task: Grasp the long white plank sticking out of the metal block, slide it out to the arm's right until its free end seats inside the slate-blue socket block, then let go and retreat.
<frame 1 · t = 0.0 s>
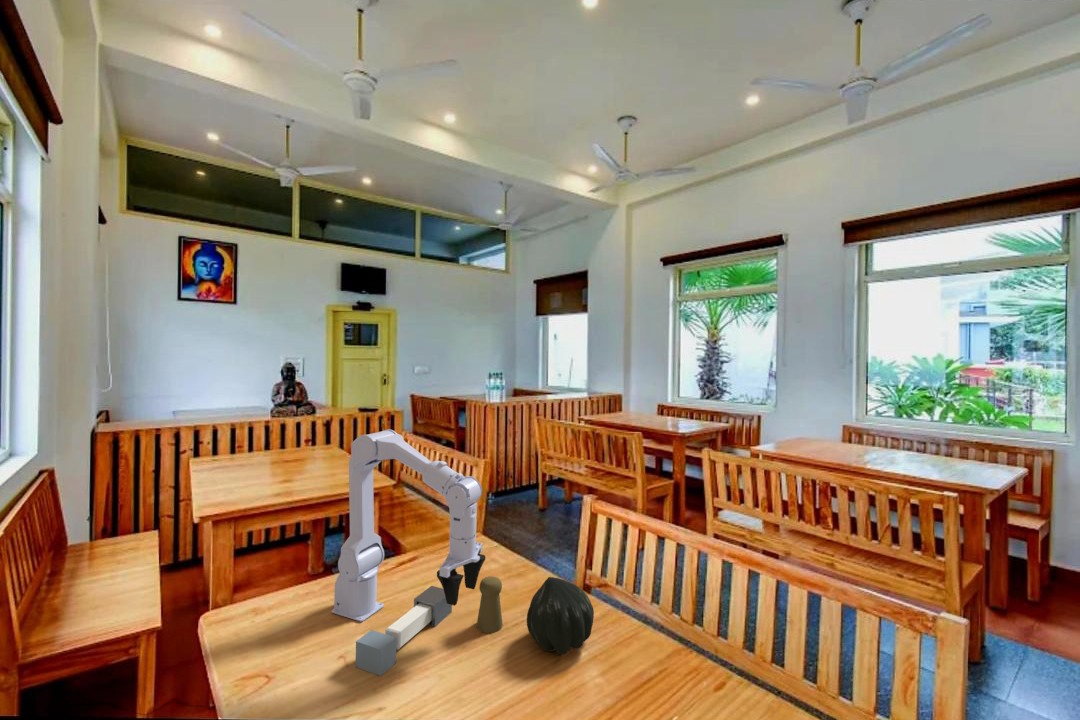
hand: (461, 595, 109), 10 cm above the table, fingers open, 7 cm apart
metal block: (432, 616, 119), on the table
socket: (375, 664, 100), on the table
long white plank: (419, 617, 113), point 3 cm above the table, slide at 0.0 cm
squash: (559, 643, 110), on the table
olive game pawn: (489, 626, 116), on the table
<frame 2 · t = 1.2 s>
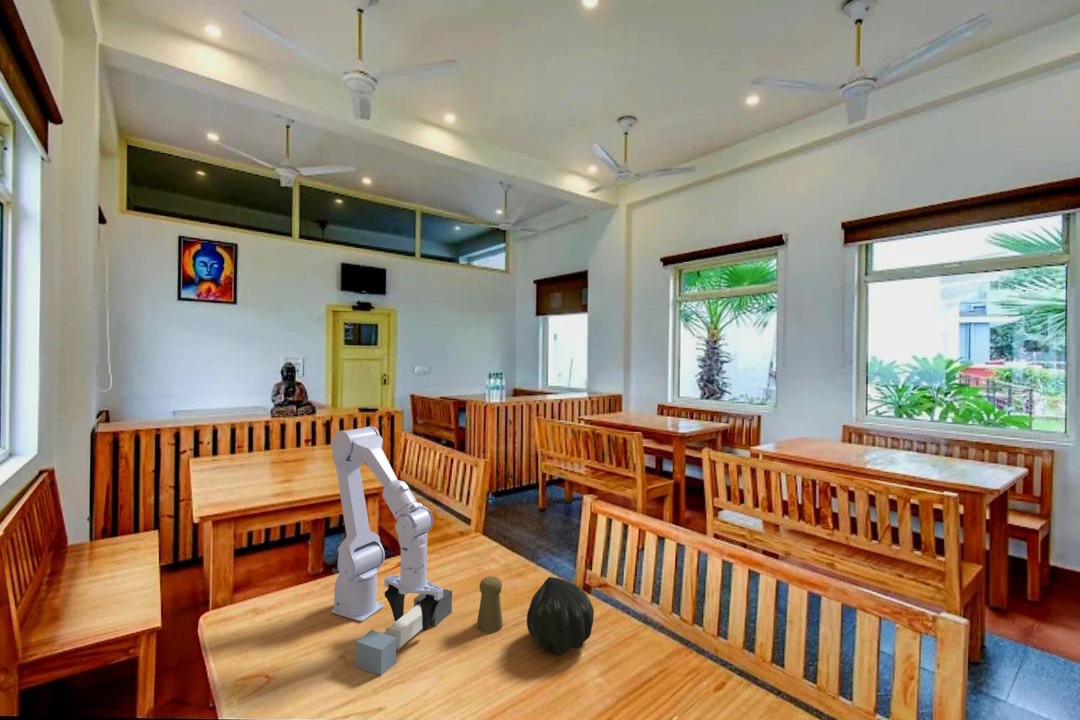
hand: (412, 623, 111), 2 cm above the table, fingers open, 7 cm apart
nothing on the table moved.
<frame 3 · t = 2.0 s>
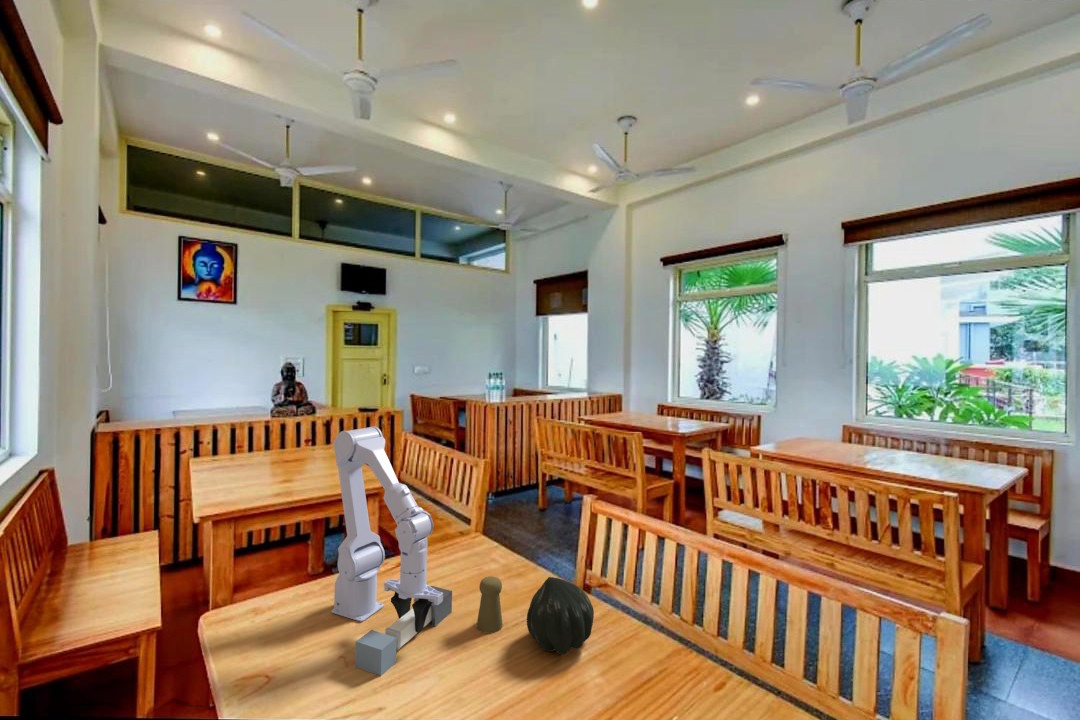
hand: (412, 627, 111), 1 cm above the table, fingers closed on long white plank, 3 cm apart
long white plank: (419, 617, 113), point 3 cm above the table, slide at 0.0 cm, touching gripper
everything else where it was.
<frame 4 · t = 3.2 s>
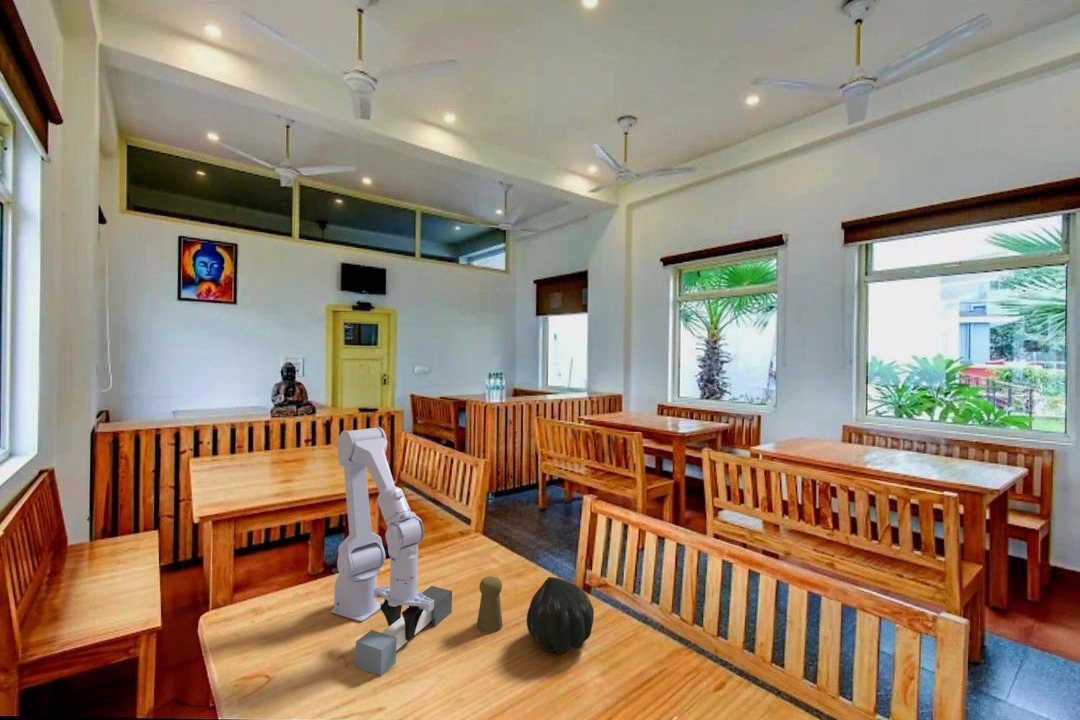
hand: (402, 635, 108), 1 cm above the table, fingers closed on long white plank, 3 cm apart
long white plank: (410, 624, 110), point 3 cm above the table, slide at 3.3 cm, touching gripper
everything else where it was.
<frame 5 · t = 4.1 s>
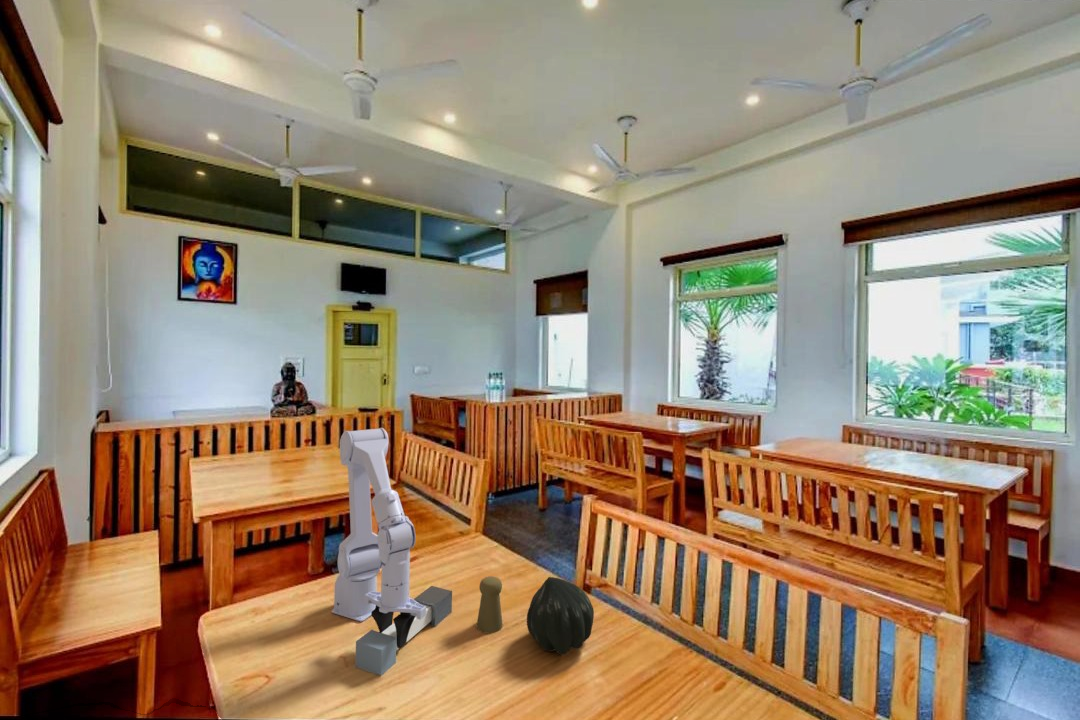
hand: (394, 642, 105), 1 cm above the table, fingers closed on long white plank, 3 cm apart
long white plank: (402, 630, 108), point 3 cm above the table, slide at 6.0 cm, touching gripper
everything else where it was.
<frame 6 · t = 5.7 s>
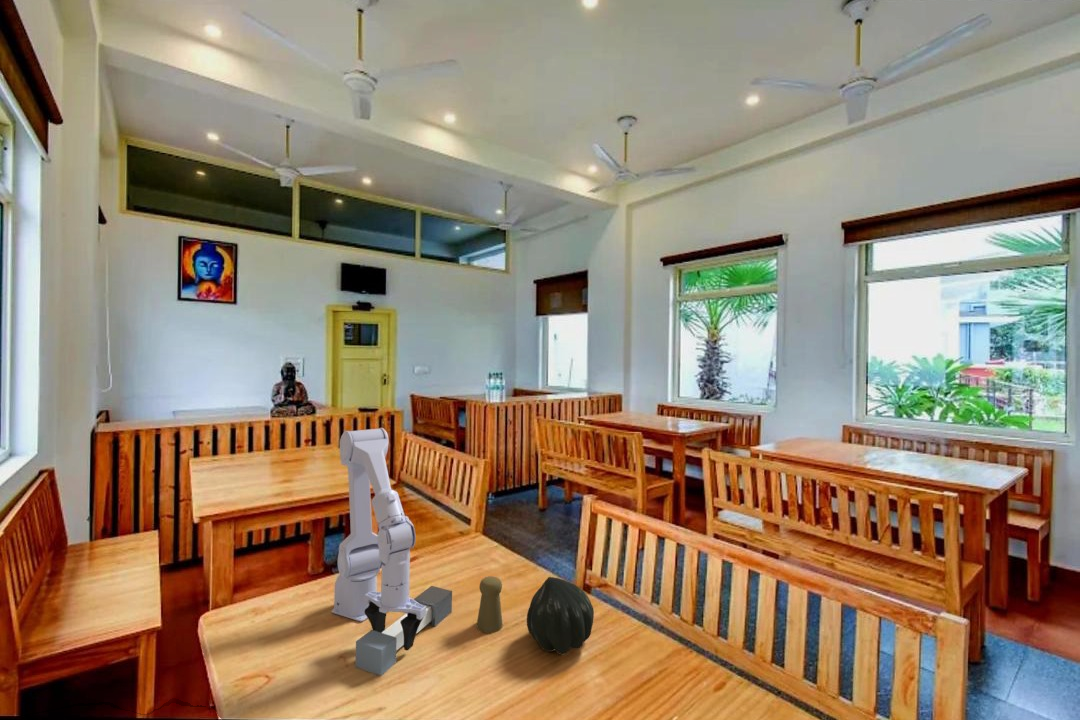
hand: (394, 642, 105), 1 cm above the table, fingers open, 7 cm apart
long white plank: (402, 630, 108), point 3 cm above the table, slide at 6.0 cm
everything else where it was.
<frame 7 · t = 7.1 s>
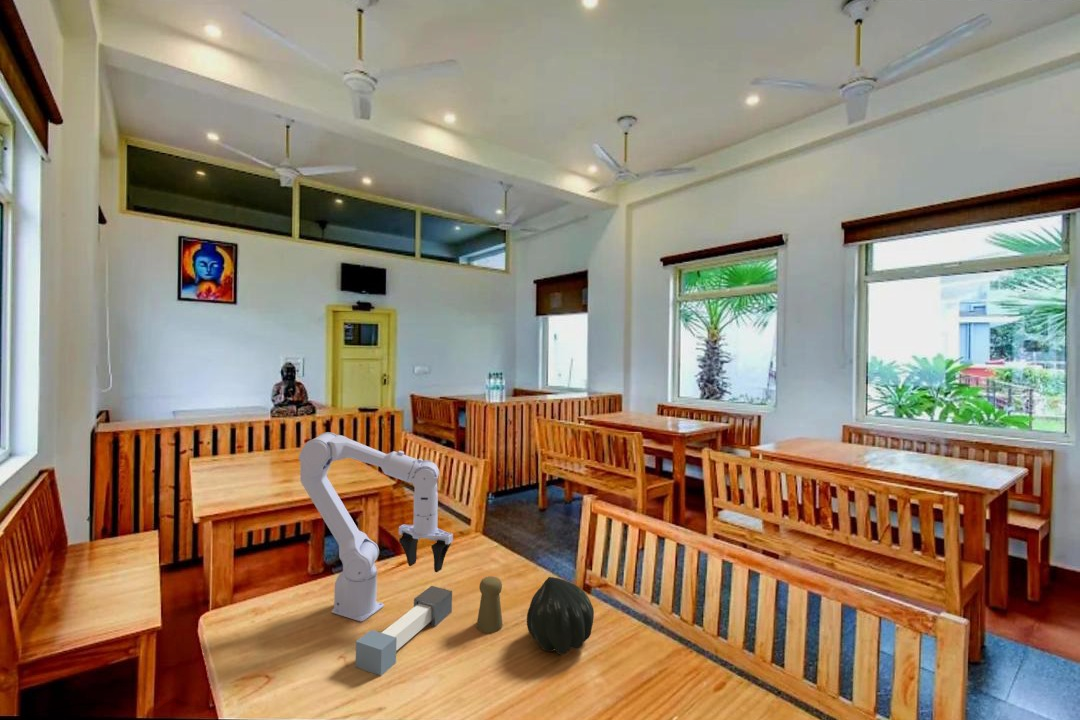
hand: (425, 567, 121), 10 cm above the table, fingers open, 7 cm apart
nothing on the table moved.
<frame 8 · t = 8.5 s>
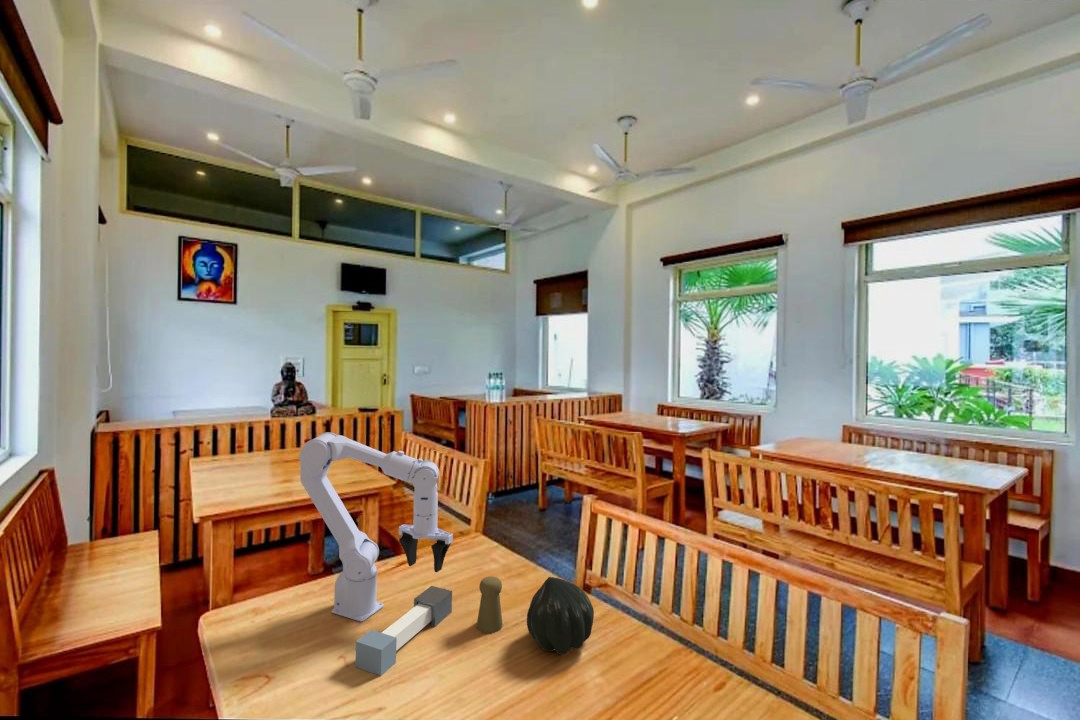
hand: (425, 567, 121), 10 cm above the table, fingers open, 7 cm apart
nothing on the table moved.
at the end: long white plank slide at 6.0 cm; the gripper is holding nothing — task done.
